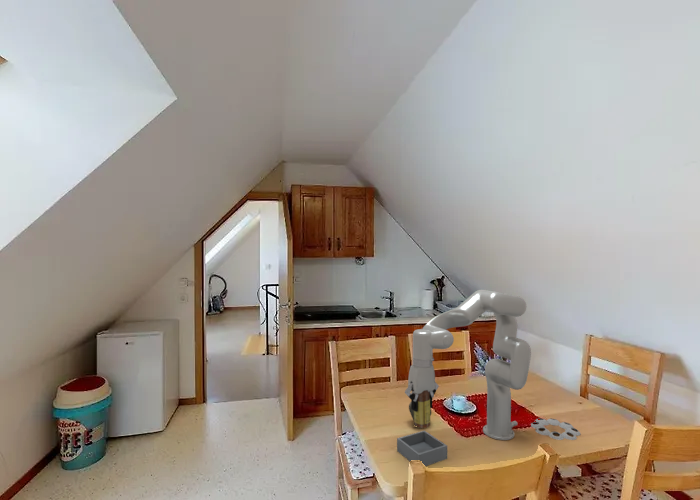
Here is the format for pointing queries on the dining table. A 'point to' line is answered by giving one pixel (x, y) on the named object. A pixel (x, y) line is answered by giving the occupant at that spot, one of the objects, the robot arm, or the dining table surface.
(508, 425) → the robot arm
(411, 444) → the box
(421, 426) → the sauce bottle
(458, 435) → the dining table surface
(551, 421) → the grey ring with holes
